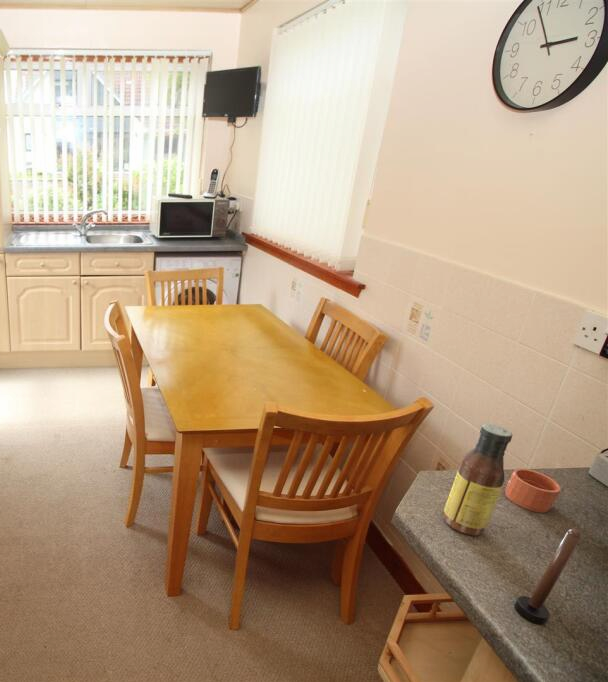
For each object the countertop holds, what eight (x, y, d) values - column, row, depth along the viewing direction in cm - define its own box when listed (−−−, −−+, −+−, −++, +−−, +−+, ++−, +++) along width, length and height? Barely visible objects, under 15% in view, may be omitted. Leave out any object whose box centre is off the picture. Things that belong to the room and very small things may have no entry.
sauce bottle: (490, 532, 84) (535, 438, 77) (468, 541, 82) (511, 445, 74) (453, 508, 90) (491, 417, 82) (431, 515, 88) (468, 423, 80)
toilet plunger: (529, 601, 71) (574, 519, 65) (552, 624, 68) (602, 539, 62) (507, 603, 71) (551, 520, 65) (530, 625, 67) (578, 541, 61)
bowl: (525, 488, 96) (535, 467, 94) (560, 512, 90) (571, 491, 88) (494, 489, 96) (504, 468, 94) (527, 514, 89) (538, 492, 87)
